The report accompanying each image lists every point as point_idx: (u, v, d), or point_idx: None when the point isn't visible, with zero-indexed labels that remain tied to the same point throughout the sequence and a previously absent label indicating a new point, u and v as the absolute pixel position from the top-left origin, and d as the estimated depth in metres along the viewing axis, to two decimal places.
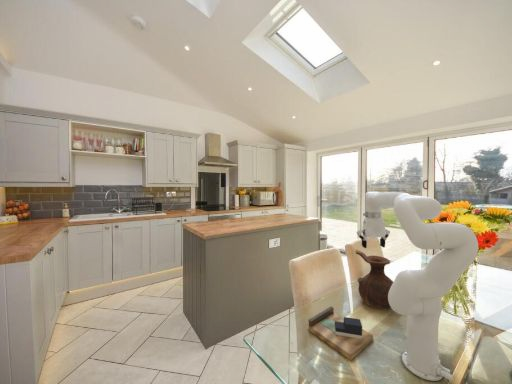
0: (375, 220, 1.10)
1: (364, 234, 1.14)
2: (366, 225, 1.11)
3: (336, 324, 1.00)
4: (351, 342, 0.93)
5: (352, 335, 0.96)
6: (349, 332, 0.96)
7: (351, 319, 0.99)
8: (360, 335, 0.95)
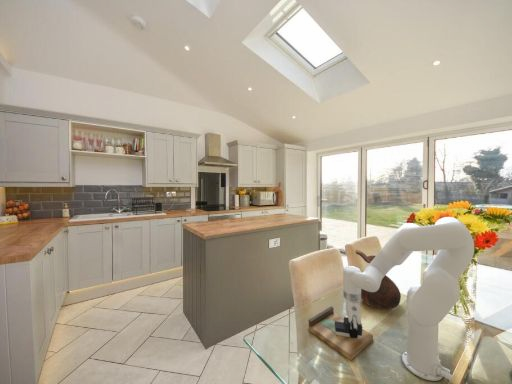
0: None
1: (352, 322, 0.94)
2: (358, 311, 0.92)
3: (336, 324, 1.00)
4: (351, 342, 0.93)
5: None
6: (349, 332, 0.96)
7: None
8: (360, 335, 0.95)
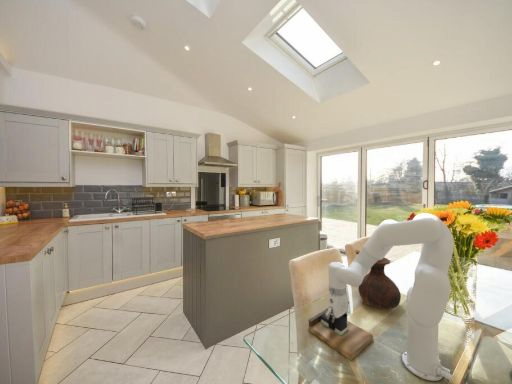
0: (342, 296, 0.98)
1: (331, 313, 0.99)
2: (335, 305, 0.97)
3: None
4: (351, 342, 0.93)
5: None
6: None
7: None
8: (339, 330, 0.98)
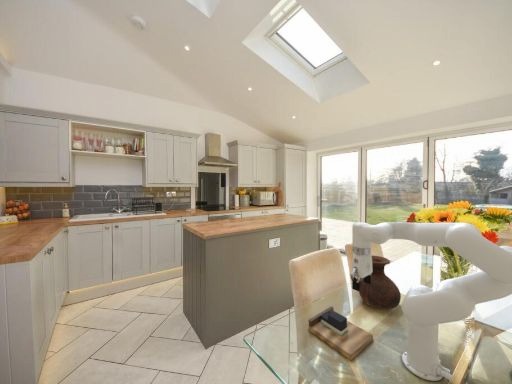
0: (367, 256, 0.95)
1: (355, 274, 0.95)
2: (360, 264, 0.93)
3: (325, 314, 1.07)
4: (351, 342, 0.93)
5: (333, 328, 1.01)
6: (331, 324, 1.02)
7: (338, 315, 1.02)
8: (339, 330, 0.98)
